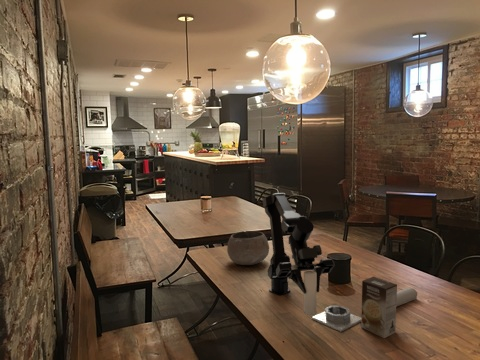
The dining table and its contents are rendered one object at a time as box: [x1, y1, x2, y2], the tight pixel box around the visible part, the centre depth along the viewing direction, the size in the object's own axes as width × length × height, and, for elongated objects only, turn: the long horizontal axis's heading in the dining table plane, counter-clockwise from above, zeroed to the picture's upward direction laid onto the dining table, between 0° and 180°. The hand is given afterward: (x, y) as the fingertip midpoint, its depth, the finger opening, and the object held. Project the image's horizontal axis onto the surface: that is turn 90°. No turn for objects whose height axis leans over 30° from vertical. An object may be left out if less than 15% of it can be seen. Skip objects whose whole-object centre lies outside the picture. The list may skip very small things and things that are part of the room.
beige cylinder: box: [303, 270, 318, 316], centre depth 127 cm, size 4×4×13 cm
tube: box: [396, 287, 418, 308], centre depth 145 cm, size 5×5×25 cm
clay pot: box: [226, 230, 270, 266], centre depth 197 cm, size 21×21×15 cm
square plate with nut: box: [311, 305, 362, 333], centre depth 135 cm, size 12×12×3 cm
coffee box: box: [360, 275, 398, 339], centre depth 127 cm, size 9×6×16 cm
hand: (311, 292), depth 125 cm, fingers closed on beige cylinder, 4 cm apart
